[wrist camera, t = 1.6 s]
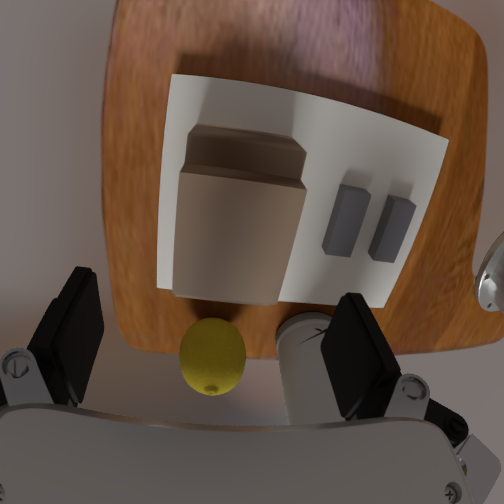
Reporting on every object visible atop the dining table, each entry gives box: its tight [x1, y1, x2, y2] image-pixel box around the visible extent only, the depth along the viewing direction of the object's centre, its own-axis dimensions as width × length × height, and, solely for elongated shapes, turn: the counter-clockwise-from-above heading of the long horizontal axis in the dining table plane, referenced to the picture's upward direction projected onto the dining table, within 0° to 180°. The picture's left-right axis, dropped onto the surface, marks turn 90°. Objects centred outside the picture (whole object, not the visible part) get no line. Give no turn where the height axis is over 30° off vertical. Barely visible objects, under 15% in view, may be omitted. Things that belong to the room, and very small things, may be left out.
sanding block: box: [172, 123, 307, 306], centre depth 19 cm, size 6×10×6 cm, turn 170°
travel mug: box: [275, 312, 345, 425], centre depth 22 cm, size 6×7×20 cm
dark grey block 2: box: [368, 194, 416, 263], centre depth 22 cm, size 2×5×1 cm, turn 170°
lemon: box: [179, 318, 246, 395], centre depth 25 cm, size 6×6×8 cm
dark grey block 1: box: [322, 184, 371, 258], centre depth 22 cm, size 2×5×1 cm, turn 170°
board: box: [157, 74, 449, 308], centre depth 22 cm, size 20×16×2 cm
